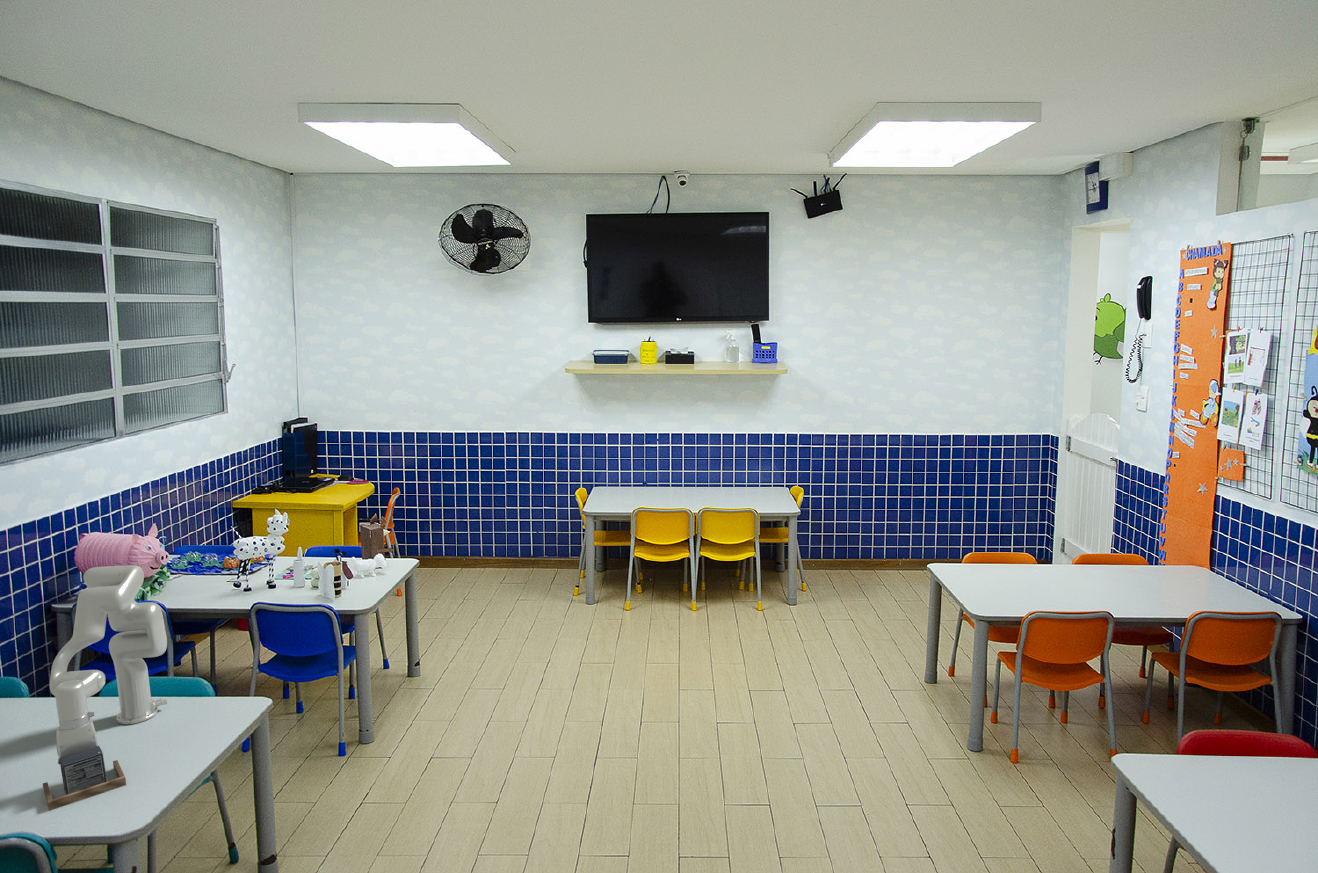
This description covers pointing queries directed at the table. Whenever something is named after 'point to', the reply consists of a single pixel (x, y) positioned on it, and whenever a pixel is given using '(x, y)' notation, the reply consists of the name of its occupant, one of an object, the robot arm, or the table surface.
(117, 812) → the table surface
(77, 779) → the small box
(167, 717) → the table surface
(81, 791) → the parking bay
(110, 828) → the table surface
